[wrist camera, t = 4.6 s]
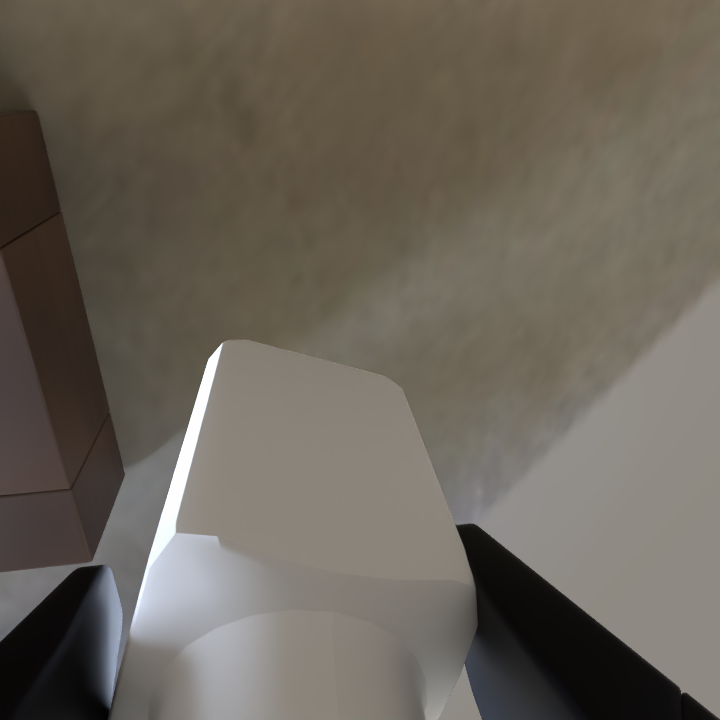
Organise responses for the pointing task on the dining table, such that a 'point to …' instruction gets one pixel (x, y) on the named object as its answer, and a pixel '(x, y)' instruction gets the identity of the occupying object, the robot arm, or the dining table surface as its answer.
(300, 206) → the dining table surface
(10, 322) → the stand
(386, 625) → the salt shaker
